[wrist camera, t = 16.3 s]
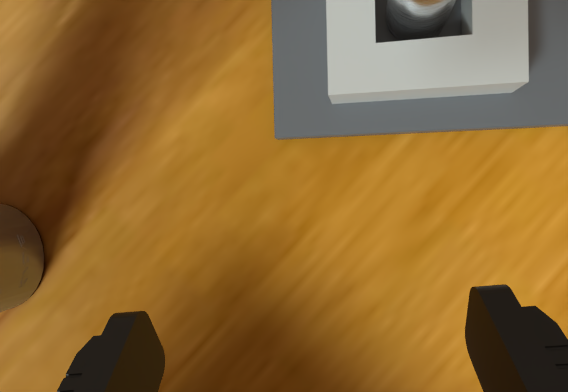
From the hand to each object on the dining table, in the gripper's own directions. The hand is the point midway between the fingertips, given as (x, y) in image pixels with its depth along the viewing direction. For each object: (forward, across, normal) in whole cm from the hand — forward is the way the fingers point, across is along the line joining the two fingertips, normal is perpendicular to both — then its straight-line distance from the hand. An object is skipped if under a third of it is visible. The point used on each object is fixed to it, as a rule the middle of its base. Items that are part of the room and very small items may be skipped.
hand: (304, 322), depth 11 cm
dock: (+24, -8, -2) cm, 26 cm away
